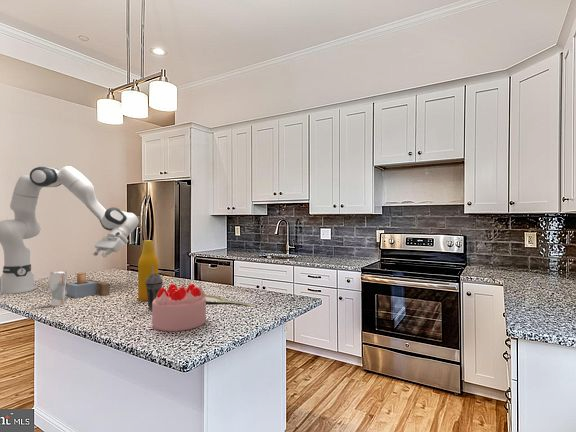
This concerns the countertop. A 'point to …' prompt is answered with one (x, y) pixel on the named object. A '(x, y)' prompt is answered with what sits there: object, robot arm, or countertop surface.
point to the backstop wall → (101, 287)
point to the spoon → (222, 300)
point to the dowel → (81, 278)
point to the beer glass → (58, 287)
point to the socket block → (81, 289)
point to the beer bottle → (146, 268)
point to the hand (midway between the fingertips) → (98, 255)
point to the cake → (179, 308)
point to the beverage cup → (153, 287)
